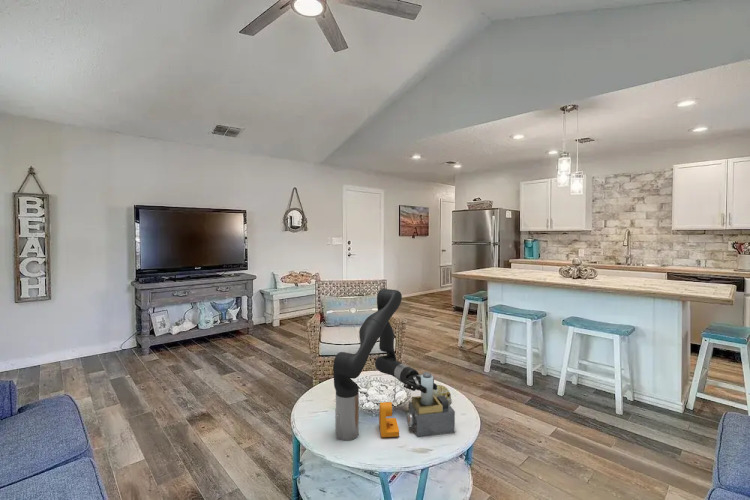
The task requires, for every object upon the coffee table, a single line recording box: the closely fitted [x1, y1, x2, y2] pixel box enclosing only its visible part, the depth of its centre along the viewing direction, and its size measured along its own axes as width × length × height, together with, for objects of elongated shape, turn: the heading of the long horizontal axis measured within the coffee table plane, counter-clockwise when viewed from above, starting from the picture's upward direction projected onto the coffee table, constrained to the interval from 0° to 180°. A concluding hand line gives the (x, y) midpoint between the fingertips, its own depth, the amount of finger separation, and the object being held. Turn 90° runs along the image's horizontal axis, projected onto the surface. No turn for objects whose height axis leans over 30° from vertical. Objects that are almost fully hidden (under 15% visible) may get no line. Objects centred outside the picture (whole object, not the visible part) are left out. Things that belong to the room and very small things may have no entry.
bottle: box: [420, 371, 434, 405], centre depth 149 cm, size 5×5×12 cm
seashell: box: [433, 384, 452, 405], centre depth 174 cm, size 10×10×10 cm
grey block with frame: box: [406, 395, 456, 438], centre depth 150 cm, size 18×11×12 cm, turn 101°
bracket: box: [378, 401, 400, 438], centre depth 148 cm, size 11×7×12 cm, turn 4°
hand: (431, 389), depth 147 cm, fingers closed on bottle, 5 cm apart
